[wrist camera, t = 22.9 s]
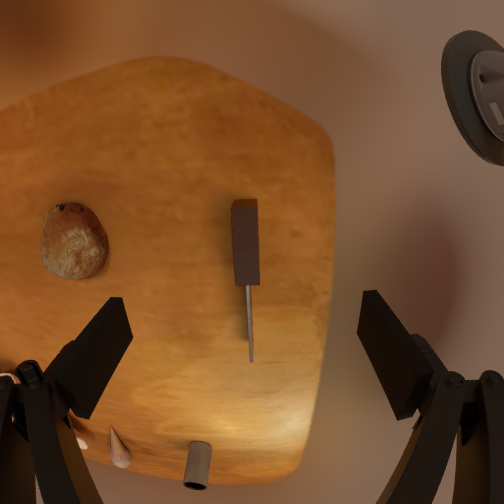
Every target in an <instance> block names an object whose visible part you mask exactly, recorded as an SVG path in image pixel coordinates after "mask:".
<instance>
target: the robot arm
mask: <svg viewBox="0 0 504 504" xmlns="http://www.w3.org/2000/svg"><path fill="white" fill-rule="evenodd" d="M468 86H469V91H470V95H471V99H472V102H473V105H474V108H475V110H476V112H477V114H478V117H479V118H480V120H481V122H482V124H483V125H484V127H485V128H486V129H487V131H488V132H489V133H490V134H491V135H492V136H493V137H494V138H495V139H497V140H498V141H501V142H504V53H503V52H498V51H493V50H485V51H481V52H478V53H476V54H474V55H473V56H472V58H471V59H470V62H469V65H468ZM357 335H358V337H359V339H360V341H361V343H362V345H363V347H364V349H365V351H366V353H367V355H368V357H369V359H370V361H371V363H372V366H373V368H374V370H375V372H376V374H377V376H378V378H379V381H380V383H381V385H382V387H383V389H384V391H385V393H386V396H387V398H388V400H389V403H390V405H391V407H392V409H393V412H394V414H395V416H396V419H397V421H398V420H402V419H406V418H409V417H412V416H413V415H414V413H415V411H416V409H417V408H418V410H419V412H420V416H419V418H418V420H417V422H416V423H415V425H414V427H413V429H414V430H413V432H412V435H411V437H410V439H409V442H408V444H407V446H406V448H405V450H404V452H403V455H402V457H401V459H400V461H399V463H398V465H397V467H396V469H395V471H394V473H393V475H392V476H391V478H390V480H389V482H388V484H387V485H386V487H385V489H384V491H383V493H382V494H381V496H380V497H379V499H378V501H377V502H376V504H432V501H433V499H434V497H435V495H436V492H437V490H438V487H439V484H440V482H441V479H442V477H443V474H444V471H445V469H446V465H447V463H448V460H449V457H450V454H451V450H452V447H453V443H454V440H455V436H456V433H457V452H456V471H455V483H454V492H453V500H452V504H504V379H503V377H502V376H501V375H500V374H499V373H498V372H496V371H492V370H487V371H485V372H483V373H482V375H481V377H480V379H479V380H465V379H464V377H463V376H462V375H461V374H459V373H456V372H453V371H448V370H447V368H446V367H445V366H444V364H443V363H442V361H441V360H440V359H439V357H438V356H437V355H436V353H434V350H433V349H432V348H431V347H430V345H429V344H428V343H427V341H426V340H425V339H424V338H423V337H421V336H420V335H418V334H411V335H410V334H409V333H408V332H407V330H406V329H405V327H404V326H403V325H402V323H401V322H400V320H399V319H398V318H397V316H396V315H395V314H394V313H393V311H392V310H391V309H390V307H389V306H388V305H387V303H386V302H385V301H384V299H383V298H382V297H381V296H380V294H379V293H378V292H377V290H370V291H363V298H362V304H361V311H360V317H359V323H358V329H357ZM132 339H133V335H132V332H131V328H130V325H129V321H128V318H127V314H126V311H125V307H124V303H123V299H122V298H121V297H110V299H109V300H108V301H107V302H106V303H105V304H104V306H103V307H102V308H101V309H100V310H99V311H98V313H97V314H96V315H95V316H94V317H93V319H92V320H91V321H90V322H89V323H88V325H87V326H86V327H85V328H84V329H83V331H82V332H81V333H80V334H79V336H78V337H77V338H76V339H75V341H74V340H72V341H70V342H69V343H68V344H66V345H65V346H64V347H63V348H62V350H61V351H60V353H58V355H57V356H56V358H54V360H53V361H52V362H51V363H50V365H49V366H48V367H47V369H46V370H45V371H44V373H43V372H42V370H41V368H40V366H39V364H38V362H36V361H35V360H26V361H24V362H22V363H21V364H19V365H18V367H17V368H16V370H15V374H16V376H17V377H18V379H19V381H20V382H21V383H15V382H14V380H13V379H12V377H11V376H9V375H3V376H0V504H36V490H35V489H36V486H35V473H36V478H37V481H38V485H39V489H40V492H41V496H42V499H43V502H44V504H104V503H103V501H102V500H101V497H100V495H99V493H98V491H97V489H96V487H95V484H94V482H93V480H92V477H91V475H90V473H89V470H88V468H87V466H86V463H85V460H84V457H83V455H82V452H81V449H80V446H79V444H78V441H77V438H76V434H75V431H74V428H73V425H72V421H71V418H70V416H69V415H68V411H69V410H70V408H71V410H72V411H73V413H74V414H75V416H77V417H80V418H84V419H88V420H89V418H90V416H91V414H92V412H93V411H94V409H95V407H96V405H97V403H98V401H99V399H100V397H101V395H102V393H103V391H104V389H105V388H106V386H107V384H108V382H109V380H110V378H111V376H112V375H113V373H114V371H115V369H116V367H117V365H118V364H119V362H120V360H121V358H122V357H123V355H124V353H125V351H126V349H127V348H128V346H129V344H130V342H131V341H132ZM12 417H13V418H14V420H13V423H12Z"/></svg>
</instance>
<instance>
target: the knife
mask: <svg viewBox="0 0 504 504" xmlns="http://www.w3.org/2000/svg"><path fill="white" fill-rule="evenodd" d="M231 222H232V240H233V257H234V273H235V285H236V286H243V285H246V299H247V318H248V337H249V356H250V363H253V322H252V298H251V285H260V273H259V238H258V206H257V199H238V200H234V202H233V205H232V207H231Z"/></svg>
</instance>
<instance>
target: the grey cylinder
mask: <svg viewBox="0 0 504 504" xmlns="http://www.w3.org/2000/svg"><path fill="white" fill-rule="evenodd" d="M211 451H212V447H211V445H210V444H208V443H206V442H202V441H194V442H192V443H191V444H190V448H189V453H188V458H187V464H186V469H185V475H184V480H183V485H184V486H185V487H187V488H190V489H194V490H205V489H206V488H207V484H208V476H209V468H210V460H211Z"/></svg>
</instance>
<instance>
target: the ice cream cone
mask: <svg viewBox="0 0 504 504" xmlns="http://www.w3.org/2000/svg"><path fill="white" fill-rule="evenodd" d="M110 456H111V457H112V461H113V463H114V464H115V465H116V466H117V467H119V468H126V467H128V466H129V465H130V463H131V460H130V457H129V453H128V451H127V449H126V448H125V447H123V445H122V443H121V442H120V440H119V438H118V437H117V435H116V433H115V431H114V430H113V428H112V426H111V449H110Z"/></svg>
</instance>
